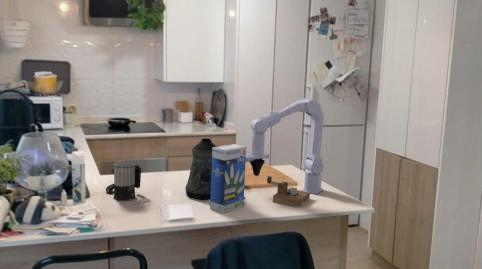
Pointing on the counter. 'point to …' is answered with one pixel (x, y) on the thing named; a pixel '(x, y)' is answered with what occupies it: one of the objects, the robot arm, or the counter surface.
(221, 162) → the string lights box
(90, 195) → the counter surface
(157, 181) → the counter surface
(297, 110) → the robot arm
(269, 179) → the lock pin
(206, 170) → the beer stein
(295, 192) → the shiny metal cylinder
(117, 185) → the milk frother
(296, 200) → the mount
